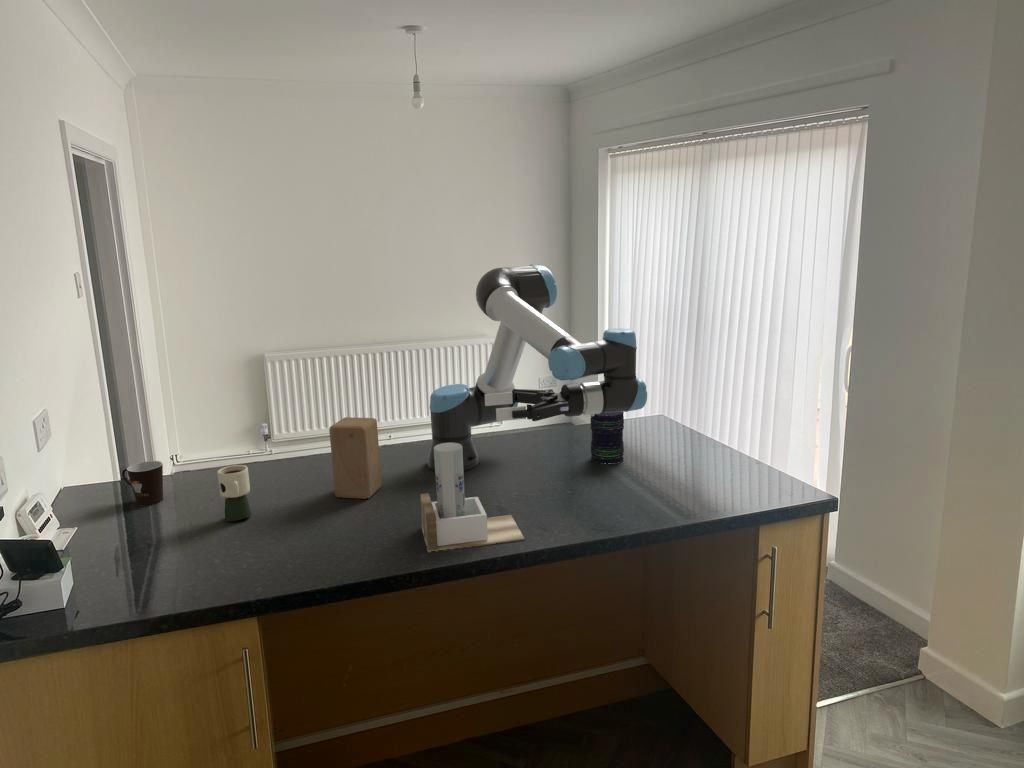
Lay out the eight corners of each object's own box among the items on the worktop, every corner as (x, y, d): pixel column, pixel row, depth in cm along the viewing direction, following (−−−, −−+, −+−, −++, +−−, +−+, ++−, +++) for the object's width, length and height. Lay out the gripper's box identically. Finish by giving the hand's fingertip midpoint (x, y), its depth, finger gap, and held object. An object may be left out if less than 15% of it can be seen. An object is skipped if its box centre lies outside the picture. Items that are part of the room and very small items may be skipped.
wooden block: (369, 500, 193) (363, 427, 189) (334, 498, 195) (327, 426, 191) (383, 486, 203) (377, 417, 198) (349, 485, 205) (343, 416, 200)
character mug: (221, 513, 188) (215, 465, 185) (250, 508, 191) (245, 460, 188) (225, 529, 178) (218, 478, 175) (256, 523, 181) (250, 473, 178)
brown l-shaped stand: (421, 527, 175) (419, 494, 174) (511, 516, 180) (509, 484, 178) (427, 552, 162) (425, 516, 160) (524, 539, 167) (523, 505, 165)
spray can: (440, 523, 173) (435, 442, 169) (467, 523, 173) (463, 442, 168) (436, 535, 167) (431, 451, 162) (465, 535, 167) (460, 451, 162)
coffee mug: (173, 500, 198) (167, 465, 196) (139, 510, 192) (134, 474, 190) (155, 490, 206) (150, 456, 204) (123, 499, 200) (117, 464, 197)
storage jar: (626, 464, 214) (626, 415, 211) (592, 465, 214) (592, 416, 211) (621, 453, 224) (621, 406, 221) (589, 454, 224) (588, 407, 221)
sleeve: (431, 525, 175) (429, 502, 173) (478, 520, 177) (477, 496, 176) (437, 546, 164) (435, 521, 162) (487, 539, 166) (486, 514, 165)
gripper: (598, 429, 159) (502, 439, 155) (565, 402, 183) (481, 409, 178) (598, 396, 157) (501, 404, 153) (564, 372, 181) (480, 379, 177)
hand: (490, 407), depth 166 cm, fingers open, 13 cm apart
